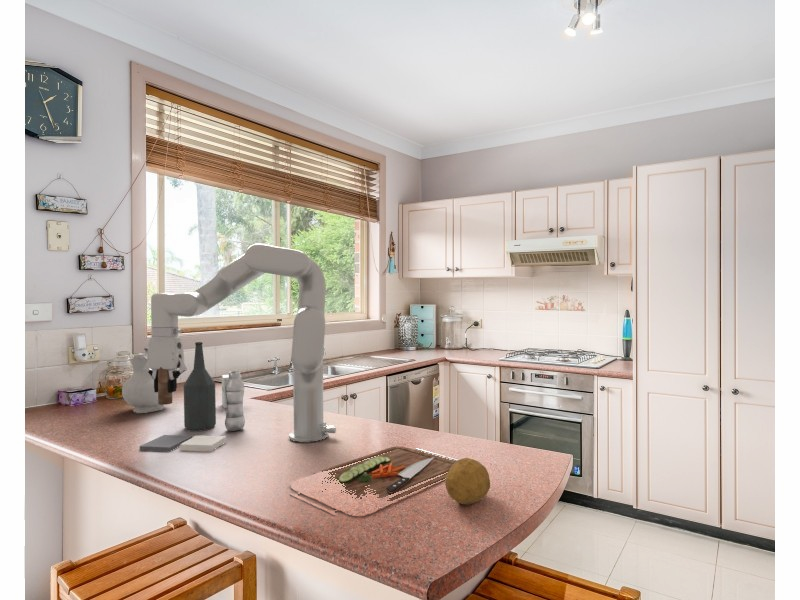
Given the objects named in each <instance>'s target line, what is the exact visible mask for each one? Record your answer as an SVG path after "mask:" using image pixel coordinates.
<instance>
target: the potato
mask: <svg viewBox="0 0 800 600" xmlns="http://www.w3.org/2000/svg"><path fill="white" fill-rule="evenodd" d="M444 483H445V489H446V492H447V493H448V495H449V497H450V498H451V499H452V500H453V501H455V502H456V503H458V504H461V505H464V504H465V506H467V505H466V504H469V505H472V504H475V503H477V502H479V501H481V500H482V499H484V498H485V497H486V496H487V494H488V493H489V491H490V488H491V479H490V474H489V472H488V470H487V467H486V466H484V465H483V463H481V462H480V461H478V460H476V459H474V458H469V457H464V458H463V457H462V458H460V459H458V461H456V462H455V463H454V464H453V465H452V467H451V468H450V470H449V472H448V473H447V475H446V479H445V481H444ZM471 503H472V504H471Z"/></svg>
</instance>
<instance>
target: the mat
mask: <svg viewBox="0 0 800 600" xmlns="http://www.w3.org/2000/svg"><path fill="white" fill-rule="evenodd" d="M193 437H194V436H193V435H179V434H177V435H176V434H163V435H161V436H158V437H156V438H155V439H152V440H149V441H147V442H146V443H143V444H141V445H139V451H148V452H149V451H150V452H151V451H153V452H155V451H156V452H172V451H174V450H175V448H176V449H178V448H180V447H179V446H180V444H182V443H184V442H185V441H187V440H189V439H191V438H193ZM177 447H178V448H177ZM173 449H174V450H173ZM171 450H172V451H171Z"/></svg>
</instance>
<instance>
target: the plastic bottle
mask: <svg viewBox="0 0 800 600" xmlns="http://www.w3.org/2000/svg"><path fill="white" fill-rule="evenodd" d="M228 375H229V381H228V382H227V384H226V385H225V394H226V403H227V408H226V413H225V418H224V419H225V420H224V427H225V429H226V430H227V431H230V432H235V431H240V430H241V431H242V430H243V428H244V427H245V424H246V418H245V415H244V393H245V384H244V382H243V380H242V381H241V380H240V378H239V377H240V376H241V371H239V370H236V371H234V370H232V371H229V372H228Z"/></svg>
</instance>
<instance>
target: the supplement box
mask: <svg viewBox="0 0 800 600" xmlns="http://www.w3.org/2000/svg"><path fill="white" fill-rule="evenodd" d="M239 378H240V380H241V381H242V382H243V379H242V378H243V377H242V375H240V377H239ZM228 381H229V374H222V375H221V403H222V404H221V405H222V407H223V408H224V409H227V403H226V394H225V385H226V384H227V382H228Z"/></svg>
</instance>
